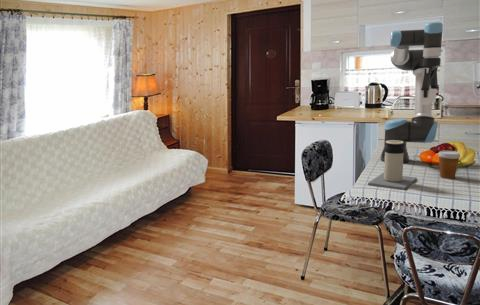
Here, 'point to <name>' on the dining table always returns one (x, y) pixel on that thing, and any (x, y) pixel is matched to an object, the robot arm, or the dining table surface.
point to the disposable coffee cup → (448, 163)
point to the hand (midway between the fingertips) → (429, 103)
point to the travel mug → (393, 161)
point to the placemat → (395, 185)
